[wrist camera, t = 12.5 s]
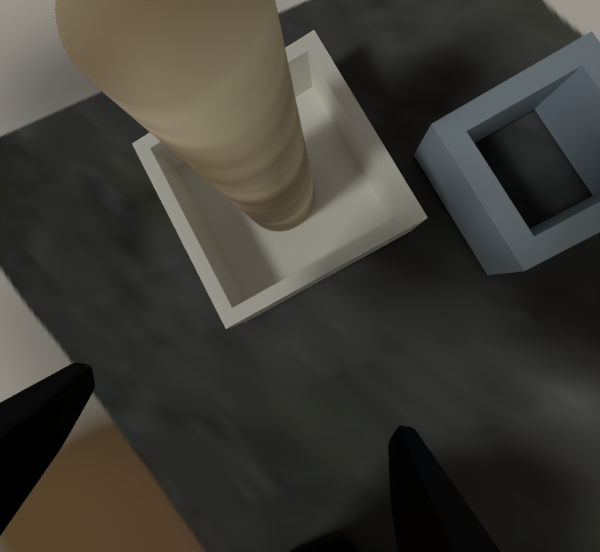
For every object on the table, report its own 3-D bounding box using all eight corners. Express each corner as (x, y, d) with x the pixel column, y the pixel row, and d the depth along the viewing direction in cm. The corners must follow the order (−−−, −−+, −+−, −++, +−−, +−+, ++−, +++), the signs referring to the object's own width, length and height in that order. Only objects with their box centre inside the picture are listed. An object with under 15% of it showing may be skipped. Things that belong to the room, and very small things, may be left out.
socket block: (625, 202, 17) (699, 180, 14) (487, 275, 18) (524, 271, 14) (542, 81, 18) (591, 31, 14) (413, 155, 19) (431, 123, 15)
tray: (410, 231, 18) (427, 217, 15) (245, 322, 19) (226, 328, 16) (317, 76, 20) (314, 29, 16) (166, 168, 20) (132, 143, 17)
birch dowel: (328, 184, 18) (312, -63, 6) (289, 244, 19) (184, 140, 6) (269, 148, 19) (131, -151, 6) (231, 207, 19) (16, 35, 6)
